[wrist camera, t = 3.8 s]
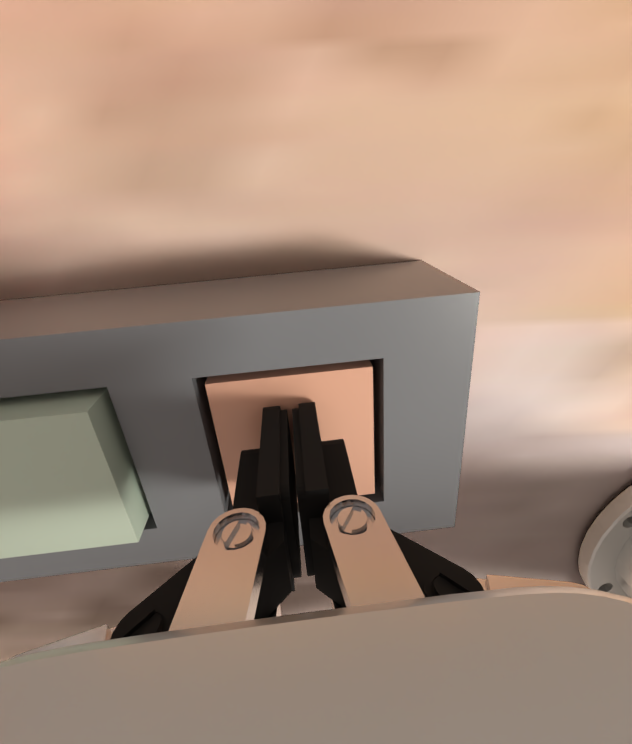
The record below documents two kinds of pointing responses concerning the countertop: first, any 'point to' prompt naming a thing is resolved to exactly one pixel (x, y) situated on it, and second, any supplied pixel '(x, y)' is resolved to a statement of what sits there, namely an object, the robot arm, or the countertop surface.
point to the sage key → (66, 475)
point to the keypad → (250, 354)
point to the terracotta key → (287, 389)
